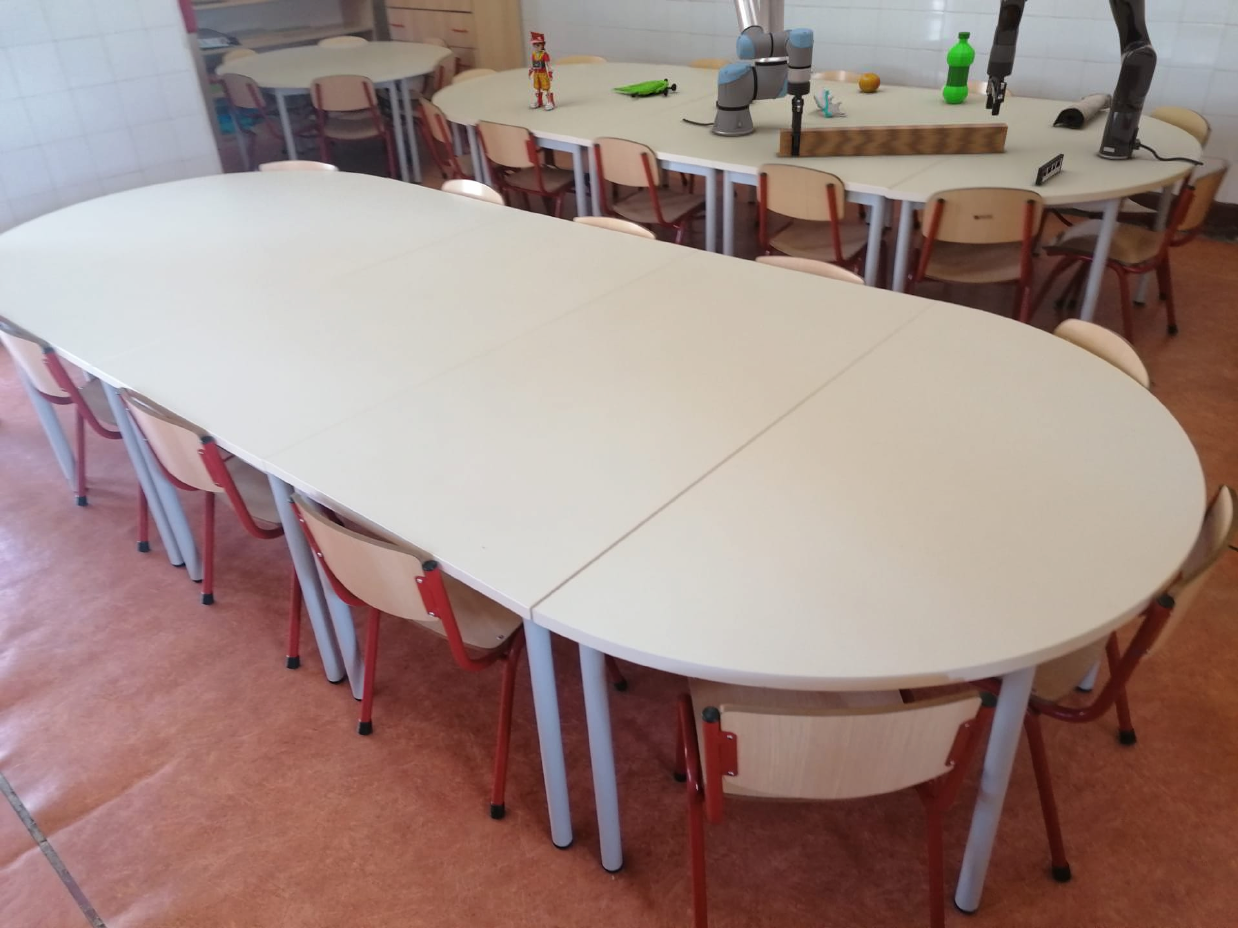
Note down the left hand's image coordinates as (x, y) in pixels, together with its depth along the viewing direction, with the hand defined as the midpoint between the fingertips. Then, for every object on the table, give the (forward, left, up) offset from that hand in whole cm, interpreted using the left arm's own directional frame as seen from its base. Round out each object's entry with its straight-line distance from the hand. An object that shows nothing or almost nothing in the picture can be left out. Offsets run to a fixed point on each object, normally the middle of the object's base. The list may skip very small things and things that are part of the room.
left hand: (794, 153), depth 308 cm
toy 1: (-125, +28, -1) cm, 128 cm away
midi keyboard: (+81, +3, -1) cm, 81 cm away
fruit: (-5, +95, -1) cm, 95 cm away
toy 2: (-98, +66, -1) cm, 118 cm away
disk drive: (-49, +57, -1) cm, 75 cm away
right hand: (+57, +26, +12) cm, 64 cm away
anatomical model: (-9, +56, -1) cm, 57 cm away
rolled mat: (+80, +77, -1) cm, 112 cm away
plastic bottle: (+32, +88, -1) cm, 94 cm away
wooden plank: (+29, +13, -1) cm, 32 cm away
